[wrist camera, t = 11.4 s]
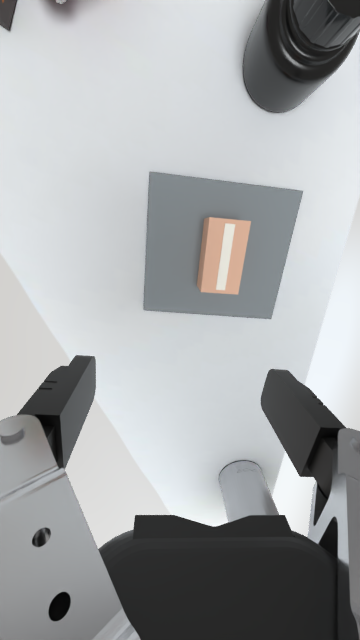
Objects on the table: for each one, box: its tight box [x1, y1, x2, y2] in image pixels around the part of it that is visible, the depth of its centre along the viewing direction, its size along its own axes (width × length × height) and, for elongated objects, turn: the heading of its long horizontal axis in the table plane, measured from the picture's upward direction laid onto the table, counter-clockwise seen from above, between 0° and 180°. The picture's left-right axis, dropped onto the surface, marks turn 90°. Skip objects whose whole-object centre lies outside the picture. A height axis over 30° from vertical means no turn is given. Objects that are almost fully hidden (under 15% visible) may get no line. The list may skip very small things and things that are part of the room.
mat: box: [144, 172, 303, 319], centre depth 33 cm, size 18×20×1 cm
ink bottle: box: [243, 0, 360, 112], centre depth 21 cm, size 10×9×12 cm
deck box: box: [197, 217, 251, 295], centre depth 31 cm, size 5×9×4 cm, turn 175°
